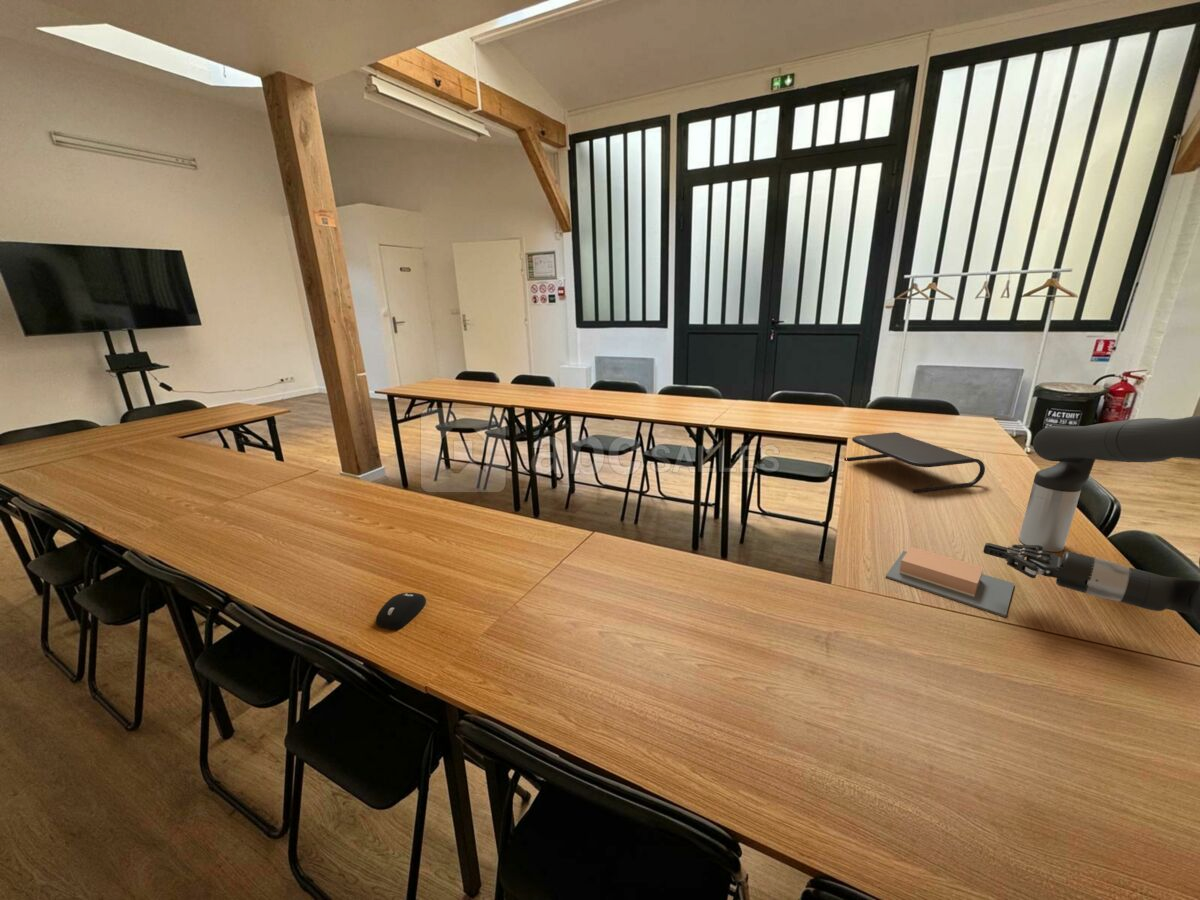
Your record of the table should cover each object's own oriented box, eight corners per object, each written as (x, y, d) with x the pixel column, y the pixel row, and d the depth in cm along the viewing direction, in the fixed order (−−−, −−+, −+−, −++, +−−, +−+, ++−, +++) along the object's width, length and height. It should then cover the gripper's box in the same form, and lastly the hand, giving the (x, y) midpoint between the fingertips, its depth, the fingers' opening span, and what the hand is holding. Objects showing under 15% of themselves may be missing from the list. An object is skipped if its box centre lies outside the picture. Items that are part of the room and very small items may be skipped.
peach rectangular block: (980, 580, 114) (908, 558, 124) (983, 567, 113) (910, 546, 123) (974, 596, 108) (899, 572, 118) (977, 583, 107) (901, 560, 117)
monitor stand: (843, 460, 199) (846, 436, 196) (901, 454, 204) (905, 430, 201) (914, 494, 165) (920, 465, 161) (982, 486, 170) (989, 457, 166)
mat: (903, 552, 128) (903, 550, 128) (1014, 585, 112) (1014, 583, 112) (885, 577, 117) (885, 575, 117) (1005, 617, 102) (1006, 615, 101)
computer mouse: (434, 601, 114) (432, 587, 113) (399, 633, 103) (396, 617, 102) (408, 596, 117) (406, 582, 115) (372, 626, 106) (368, 611, 105)
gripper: (1097, 547, 100) (992, 522, 111) (1096, 573, 91) (983, 543, 102) (1087, 578, 102) (985, 551, 114) (1086, 606, 93) (975, 573, 105)
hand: (984, 547), depth 108 cm, fingers closed
